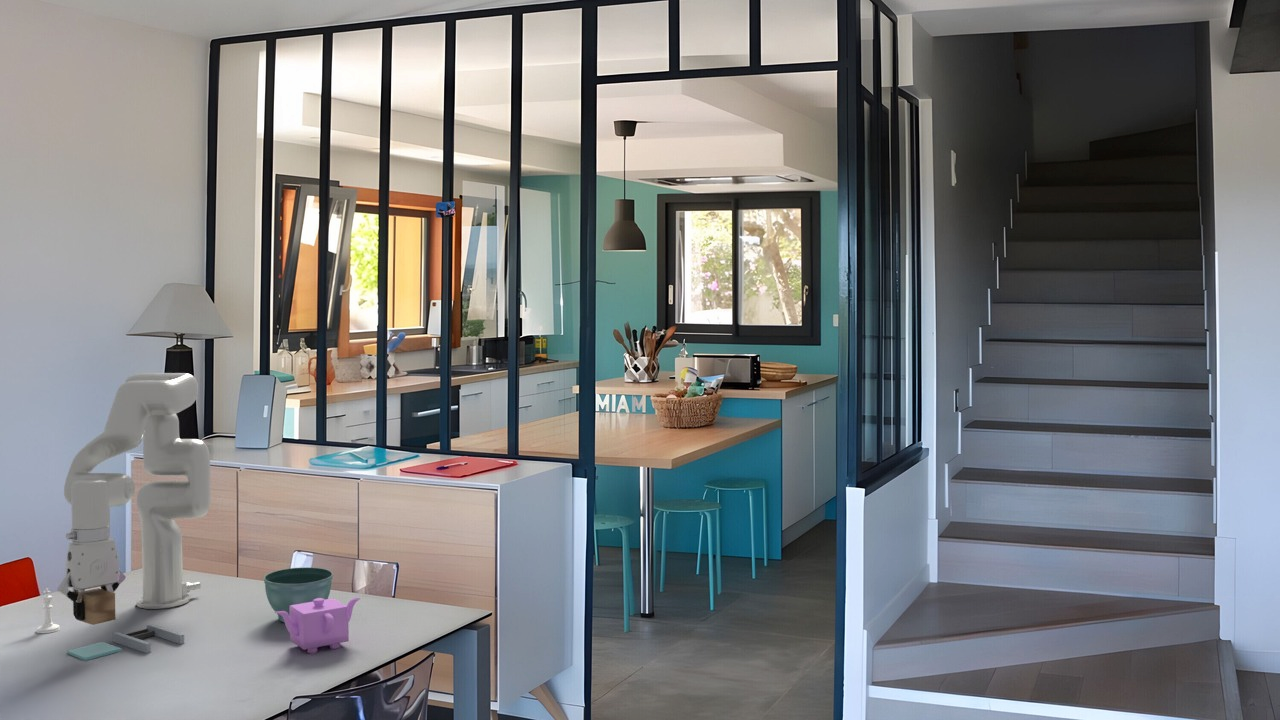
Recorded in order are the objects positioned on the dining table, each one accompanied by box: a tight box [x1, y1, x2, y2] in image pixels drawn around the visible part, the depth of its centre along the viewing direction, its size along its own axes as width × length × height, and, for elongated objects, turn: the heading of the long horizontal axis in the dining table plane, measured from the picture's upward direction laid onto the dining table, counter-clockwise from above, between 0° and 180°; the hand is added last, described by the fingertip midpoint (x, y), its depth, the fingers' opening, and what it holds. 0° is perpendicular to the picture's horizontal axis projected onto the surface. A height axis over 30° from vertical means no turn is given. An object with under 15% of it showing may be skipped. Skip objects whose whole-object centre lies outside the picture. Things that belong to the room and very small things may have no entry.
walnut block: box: [76, 587, 116, 626], centre depth 239 cm, size 5×7×6 cm
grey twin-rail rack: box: [112, 623, 185, 654], centre depth 247 cm, size 9×14×2 cm, turn 54°
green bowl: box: [263, 566, 334, 623], centre depth 266 cm, size 16×16×11 cm
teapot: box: [273, 597, 362, 654], centre depth 244 cm, size 15×13×11 cm
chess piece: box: [36, 587, 61, 634], centre depth 256 cm, size 5×5×10 cm
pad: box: [66, 641, 122, 661], centre depth 240 cm, size 8×8×1 cm
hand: (92, 615), depth 239 cm, fingers closed on walnut block, 5 cm apart
